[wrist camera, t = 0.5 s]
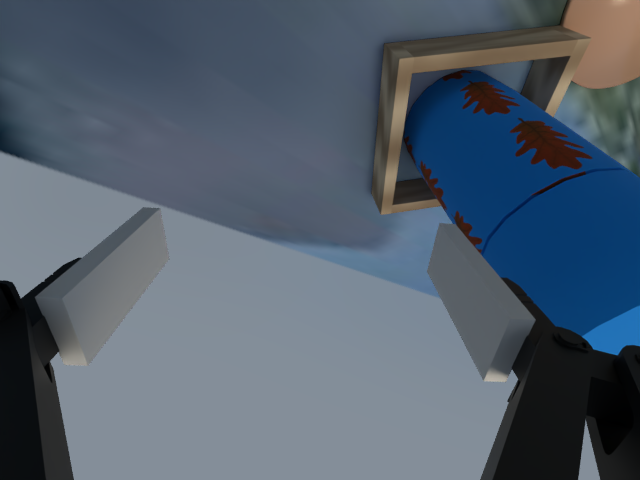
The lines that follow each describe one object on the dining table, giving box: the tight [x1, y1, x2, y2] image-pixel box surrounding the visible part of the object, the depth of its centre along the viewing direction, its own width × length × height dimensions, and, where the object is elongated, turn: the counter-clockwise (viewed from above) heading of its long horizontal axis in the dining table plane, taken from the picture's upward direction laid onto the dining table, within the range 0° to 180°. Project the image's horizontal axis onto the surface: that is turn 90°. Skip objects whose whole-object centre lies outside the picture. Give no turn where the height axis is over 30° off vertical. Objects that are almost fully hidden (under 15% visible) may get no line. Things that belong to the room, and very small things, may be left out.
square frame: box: [371, 25, 592, 215], centre depth 34 cm, size 16×16×4 cm
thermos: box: [404, 70, 640, 355], centre depth 27 cm, size 11×11×25 cm
